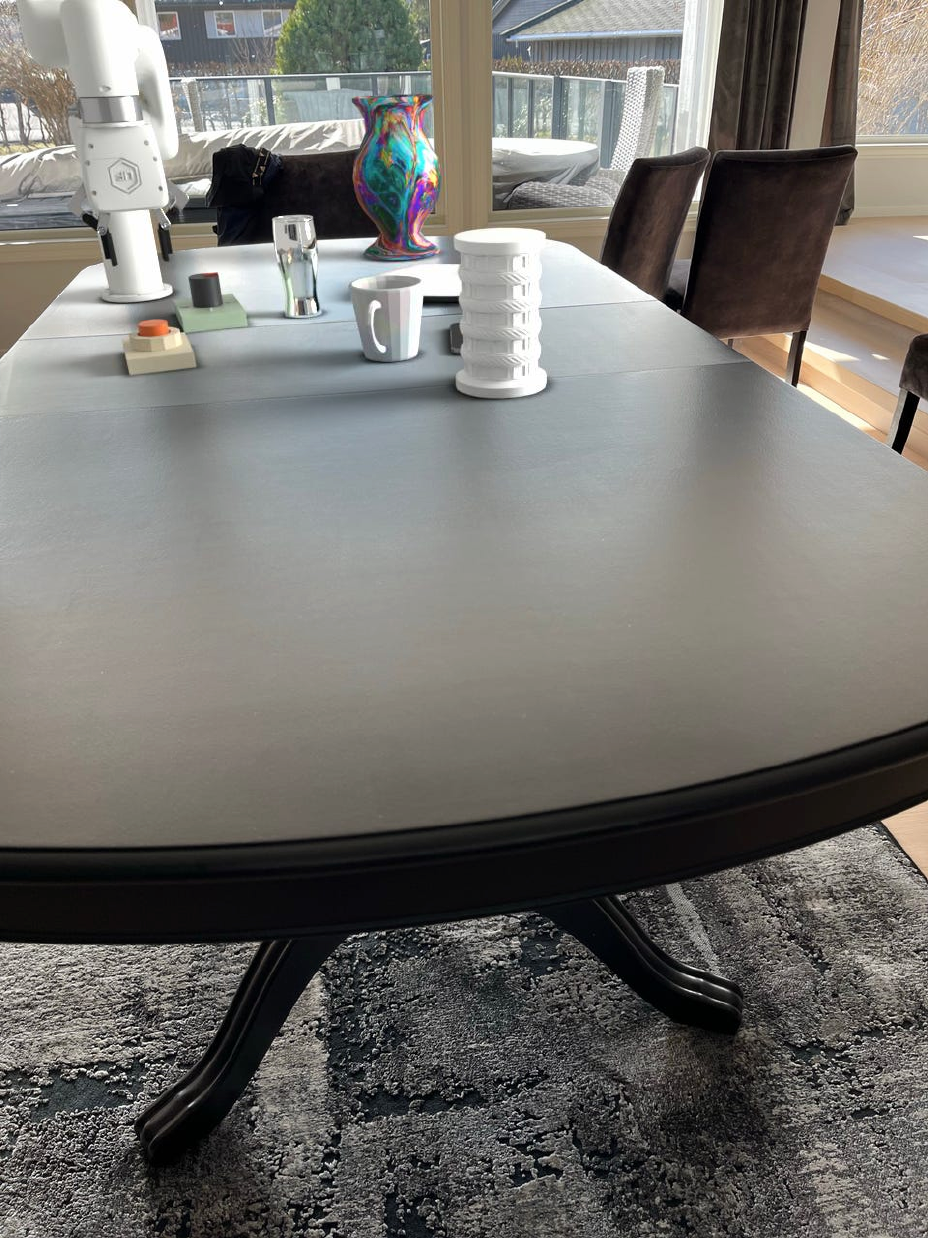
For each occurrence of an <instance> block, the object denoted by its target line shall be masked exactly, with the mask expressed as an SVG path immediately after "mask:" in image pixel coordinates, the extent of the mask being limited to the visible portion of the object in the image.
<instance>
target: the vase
mask: <svg viewBox="0 0 928 1238" xmlns="http://www.w3.org/2000/svg"><path fill="white" fill-rule="evenodd" d="M350 99H351V103H352V104H353V105H354V106H355V107H356V108H357V110H358V111H359V112H360V114H361V116H362V118H363V121H364V122H363V123H364V129H365V130H364V131H365V132H364V134H363V137H362V140H361V143H360V146H359V148H358V150H357V153H356V155H355V157H354V160H353V169H352V182H353V187H354V193H355V195H356V199H357V201H358V203H359V205H360V206H361V208H362V210H363V211H364V213H365V214H366V215H367V216H368V217H369V218H370V220H372V221H373V223H374V224H375V225H376V228H377V229H378V232H380V233H379V234H378V235H377V236H378V237H377V238H376V240H375V241H374V242H373V243H372V244H371V245H369V246H368V247H367V248H366V249H365V250H364V251H363V253H362V255H363V257H366V258H369V259H373V260H384V261H402V260H403V261H404V260H405V261H407V260H418V259H423V258H428V257H432V256H435V255H437V254H439V253H440V252H441V250H440V248H438V246H436V244H434V243H433V242H431V241H429V240H428V239H427V238H426V237H425V236H424V234H423V233H422V231H421V230H422V228H423V226H424V224H425V221H426V220H427V219H428V217H429V215H430V214H431V213H432V212H433V210H434V208H435V207H436V204H437V202H438V200H439V199H440V198H439V197H440V192H441V188H442V171H441V166H440V165H441V164H440V161H439V157H438V155H437V153H436V151H435V150H434V148H433V146H432V144H431V143H430V141H429V138H428V137H427V134H426V133H425V131H424V117H425V113H426V111H427V108H428V107H429V105H430V104H431V103H432V102H433V99H434V95H432V94H427V93H424V94H423V93H412V94H411V93H410V94H409V93H407V94H405V93H404V94H381V95H380V94H379V95H361V96H352V98H350Z"/></svg>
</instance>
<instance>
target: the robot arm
mask: <svg viewBox="0 0 928 1238" xmlns="http://www.w3.org/2000/svg"><path fill="white" fill-rule="evenodd" d="M15 3H16V4H15V5H16V9H17V10H16V11H17V15H18V20H19V26H20V30H21V35H22V38H23V42H24V45H25V47H26V50H27V52H28V54H29V55H30V57H31V58H32V59H33V61H35V63H37V64H38V65H39V66H41V67H43V68H47V69H52V70H53V69H54V70H55V69H57V70H58V69H65V70H66V73H67V76H68V78H69V80H70V82H71V84H72V85H73V86H74V89H75V95H76V101H75V102H72V104H66V109H67V115H68V130H69V133H70V138H71V140H72V143H73V146H74V148H75V151H76V154H77V158H78V161H79V163H80V169H81V175H82V180H83V181H82V182H81V184H80V185H79V186H78V188H77V189H76V191H75V192H74V193H73V195H72V197H71V198H70V199H69V200H68V202H67V204H66V208H67V210H68V211H70V212H71V213H72V214H73V215H74V216H76V217H77V218H78V219H79V220H81V221H83V222H84V223H85V224H86V225H87V226H89V228H91V229H92V230H94V231H95V232H96V234H97V239H98V243H99V248H100V253H101V258H102V263H103V267H104V271H105V276H106V281H107V285H108V288H105V289H103V290H102V291H101V293H100V295H101V298H102V300H103V301H106V302H109V303H140V302H148V301H154V300H159V299H162V298H165V297H169V296H170V295H172V294H173V291H174V290H173V286H172V285H171V284H169V283H164V282H163V278H162V273H161V269H160V263H159V257H158V251H157V246H156V240H155V235H154V229H153V224H152V219H151V213H150V211H152V213H153V215H154V217H155V219H156V220H157V221H158V223H157V227H158V228H157V229H156V232H157V236H158V242H159V248H160V253H161V258H162V260H163V261H164V262H166V263H167V262H170V255H172V254H174V251H173V245H172V244H173V243H172V240H171V233H170V229H171V227H172V225H173V224H174V222H175V221H176V220H177V218H178V217H179V215H180V214H181V213H182V211H183V209H184V208H185V207H186V205H187V204H188V202H189V201H190V198H189V196H188V194H186V193H185V192H184V191H183V190H182V189H181V188H179V186H177V185H176V184H174V183H173V182H172V181H171V180H170V179H168V177H166V175H165V171H164V166H163V161H169V160H171V159H174V158H175V157H177V154H178V151H179V134H178V126H177V120H176V115H175V109H174V108H175V107H174V103H173V96H172V91H171V84H170V77H169V72H168V66H167V65H168V64H167V60H166V55H165V53H164V52H165V51H164V49H163V44H162V42H161V40H160V37H159V35H158V34H157V33H156V31H155V30H154V29H153V28H151V27H150V26H148V25H145V24H139V21H138V19H137V17H136V15H135V14H134V13H132V11H131V10H130V8H129V7H128V5H126V4H125V3H124V2H123V1H121V0H15ZM140 93H141V94H142V95H143V97H144V99H141V96H140ZM169 193H170V194H171V195H172V196H173V197H174V202H173V203H172V204H171V206H170V207H169V208H168V209H167V211H166V212H165V211H164V210H163V208H164V207H166V206H167V205H168V203H169ZM85 199H87V203H88V205H89V207H90V208H91V210H92V214H91V213H90V212H88V211H87V210H86V209H85V208H84V207H82V204H83V202H84V200H85Z"/></svg>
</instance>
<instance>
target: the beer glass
mask: <svg viewBox="0 0 928 1238" xmlns="http://www.w3.org/2000/svg"><path fill="white" fill-rule="evenodd" d="M271 221H272V241H273V249H274V250H273V251H274V256H275V261H276V264H277V268H278V271H279V274H280V278H281V281H282V286H283V289H284V297H285V298H284V299H285V301H284V302H285V303H284V316H285V317H287V318H291V319H308V318H314V317H317V316H320V315H321V314H322V313H323V312H322V311H323V310H322V307H321V304H320V300H319V296H318V285H317V284H318V269H319V268H318V266H319V265H318V264H319V248H318V237H317V231H316V226H315V221H314V216H313V215H309V214H291V215H290V214H289V215H281V216H280V215H279V216H275V217H273V218H272V219H271Z"/></svg>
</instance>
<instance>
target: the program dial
mask: <svg viewBox="0 0 928 1238" xmlns="http://www.w3.org/2000/svg"><path fill="white" fill-rule="evenodd" d="M187 279H188V284H189V290H190V295H191V298H192V302H193V306H194V307H199V308H207V307H215V306H219V305H221V304H223V300H222V295H223V294H222V288H221V283H220V282H221V281H220V276H219V272H202V273H194V274H191V275H189V276H188V278H187Z"/></svg>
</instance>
